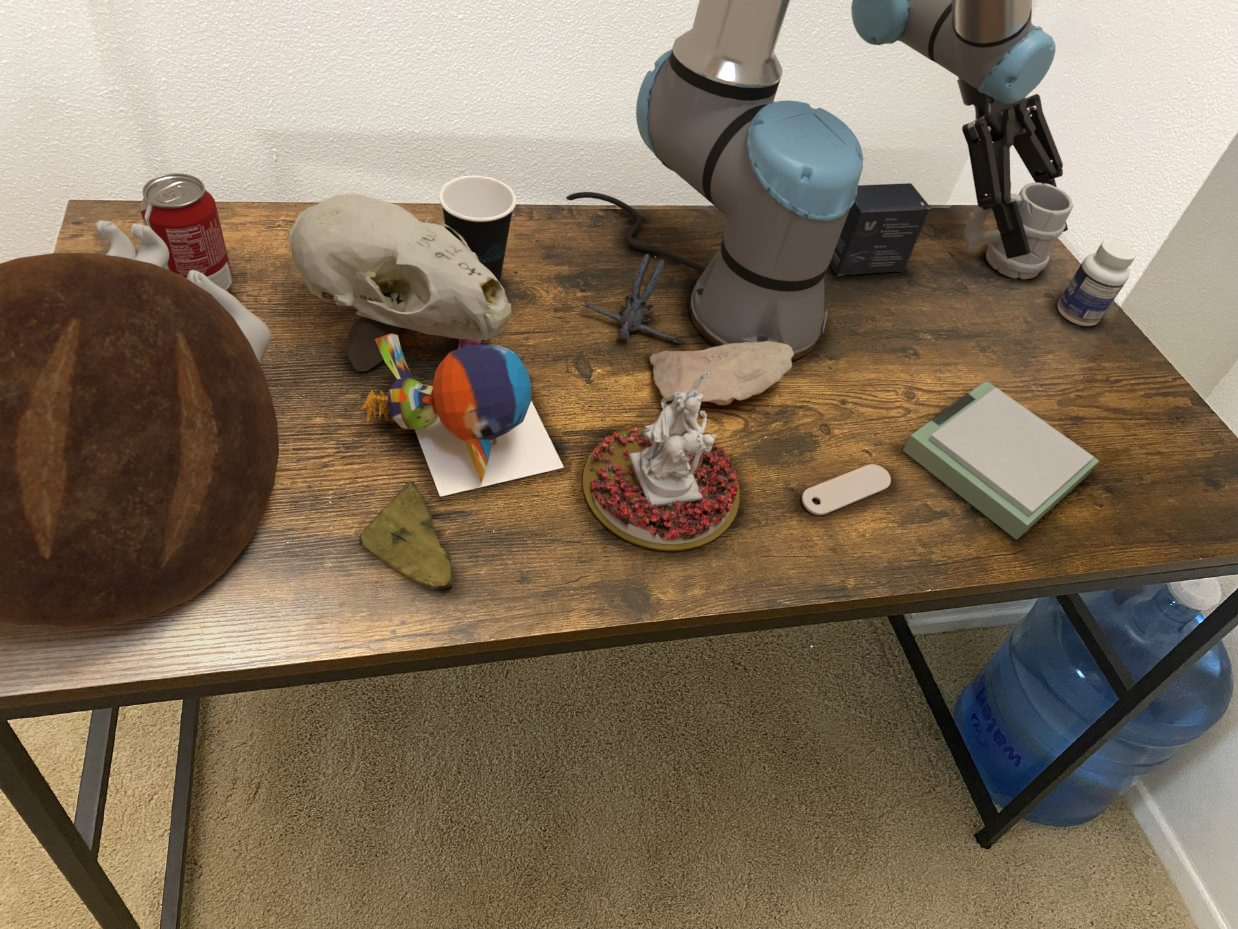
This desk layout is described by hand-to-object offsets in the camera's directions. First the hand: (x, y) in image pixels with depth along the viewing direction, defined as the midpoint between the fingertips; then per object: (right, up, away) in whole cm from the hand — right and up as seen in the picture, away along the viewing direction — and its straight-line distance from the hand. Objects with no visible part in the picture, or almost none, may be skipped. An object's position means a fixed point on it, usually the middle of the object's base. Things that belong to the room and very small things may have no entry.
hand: (1038, 243), depth 115 cm
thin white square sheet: (-65, -25, -26) cm, 75 cm away
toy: (-75, -22, -29) cm, 83 cm away
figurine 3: (-48, -30, -27) cm, 63 cm away
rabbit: (-89, -11, -36) cm, 97 cm away
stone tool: (-49, -19, -20) cm, 56 cm away
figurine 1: (-75, -8, -17) cm, 78 cm away
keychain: (-31, -29, -24) cm, 49 cm away
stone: (-69, -34, -33) cm, 83 cm away
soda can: (-96, -9, -18) cm, 98 cm away
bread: (-93, -26, -45) cm, 106 cm away
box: (-22, -2, +1) cm, 22 cm away
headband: (-65, -13, -18) cm, 69 cm away
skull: (-74, -12, -22) cm, 78 cm away
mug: (-3, -1, +5) cm, 6 cm away
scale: (-13, -27, -20) cm, 36 cm away
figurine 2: (-50, -9, -12) cm, 52 cm away
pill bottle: (+4, -9, -1) cm, 10 cm away
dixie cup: (-68, -7, -12) cm, 70 cm away
